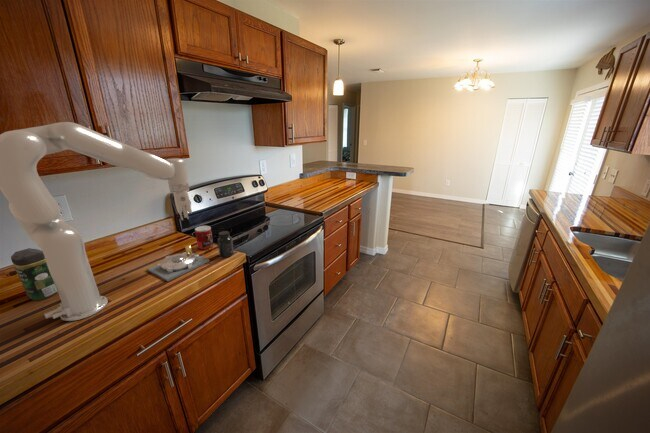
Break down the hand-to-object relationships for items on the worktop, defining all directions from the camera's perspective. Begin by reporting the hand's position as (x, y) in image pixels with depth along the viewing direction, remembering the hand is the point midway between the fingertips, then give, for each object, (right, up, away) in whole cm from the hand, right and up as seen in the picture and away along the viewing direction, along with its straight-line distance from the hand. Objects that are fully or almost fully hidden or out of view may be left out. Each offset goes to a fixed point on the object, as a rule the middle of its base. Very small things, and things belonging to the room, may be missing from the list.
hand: (186, 227), depth 119 cm
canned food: (-1, -12, +22) cm, 25 cm away
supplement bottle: (+14, -15, +13) cm, 24 cm away
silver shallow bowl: (-5, -17, +2) cm, 18 cm away
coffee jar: (-46, -25, -18) cm, 55 cm away
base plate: (-5, -18, +3) cm, 19 cm away
